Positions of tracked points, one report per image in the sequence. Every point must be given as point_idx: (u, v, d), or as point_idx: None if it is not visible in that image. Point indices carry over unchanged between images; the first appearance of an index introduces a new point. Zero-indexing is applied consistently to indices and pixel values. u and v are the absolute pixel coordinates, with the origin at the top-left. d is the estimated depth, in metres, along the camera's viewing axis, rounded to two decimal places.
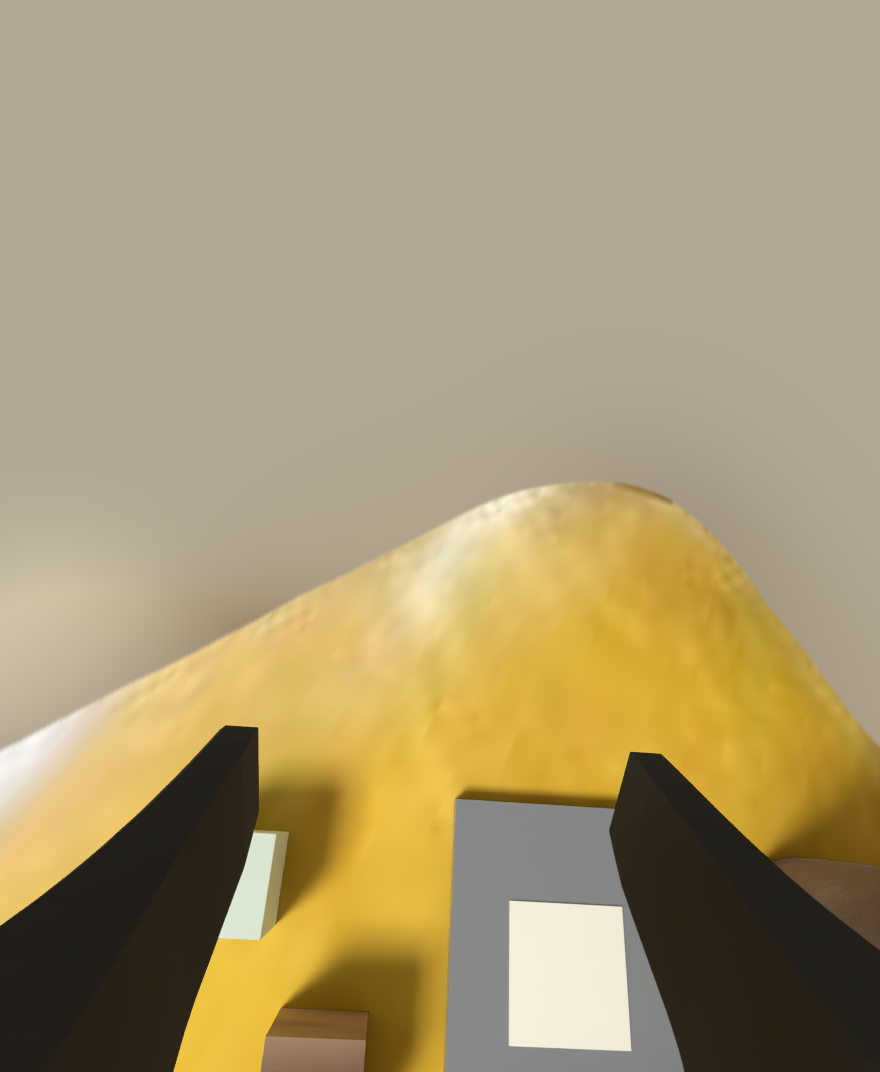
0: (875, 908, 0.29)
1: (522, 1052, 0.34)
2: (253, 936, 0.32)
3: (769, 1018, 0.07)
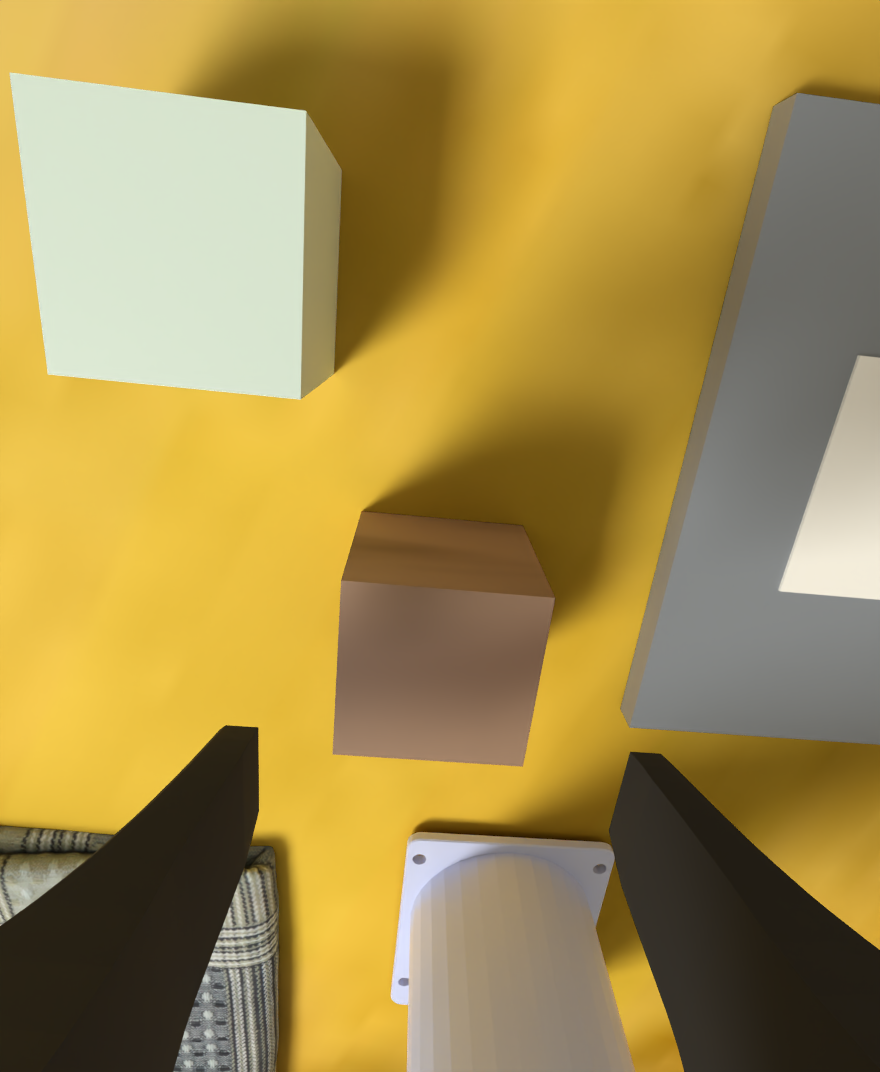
0: None
1: (798, 600, 0.19)
2: (282, 391, 0.12)
3: (769, 1018, 0.07)
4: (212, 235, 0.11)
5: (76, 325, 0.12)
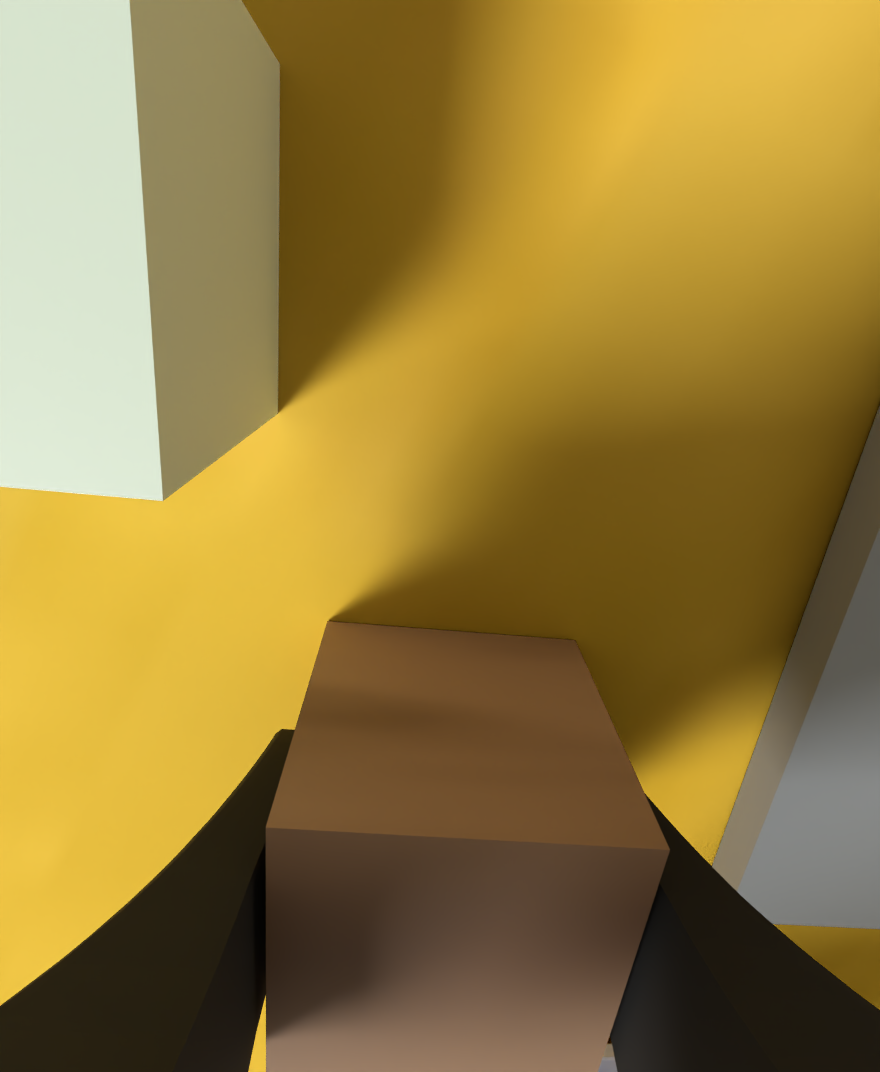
0: None
1: None
2: (123, 484, 0.06)
3: (686, 1015, 0.07)
4: None
5: None
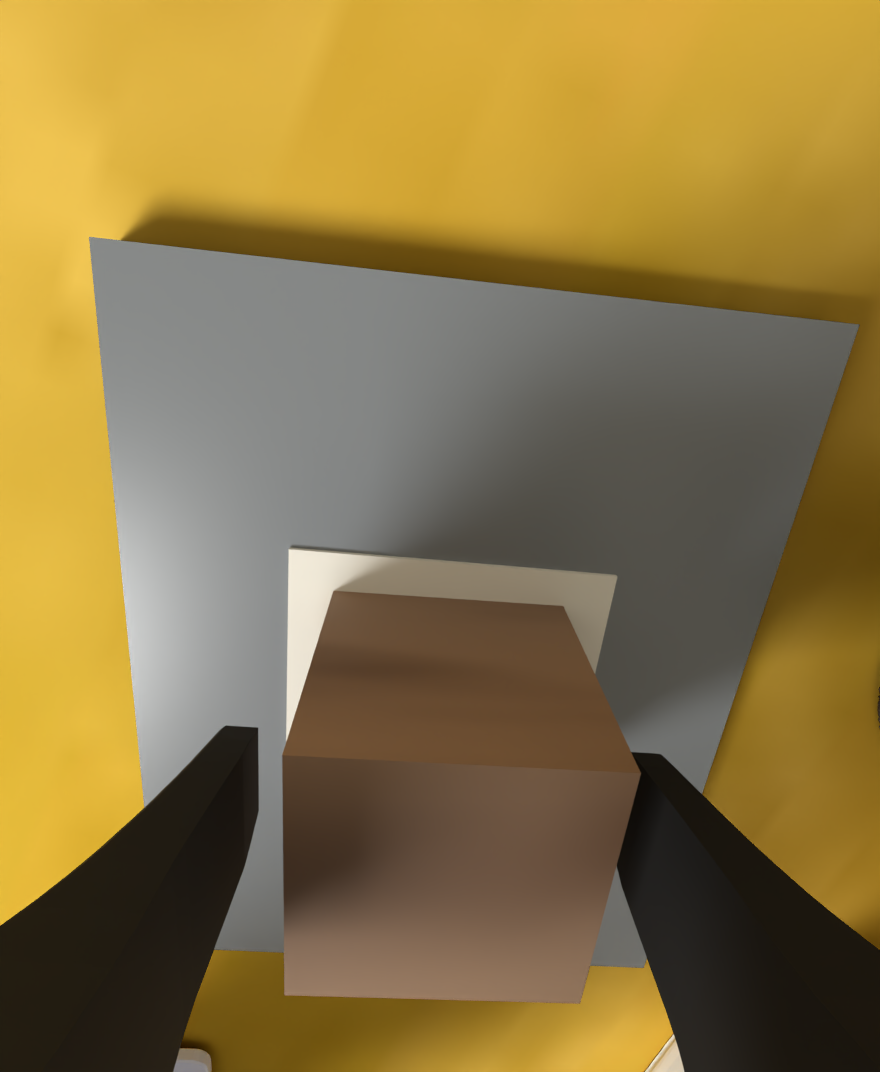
0: None
1: None
2: None
3: (769, 1018, 0.07)
4: None
5: None
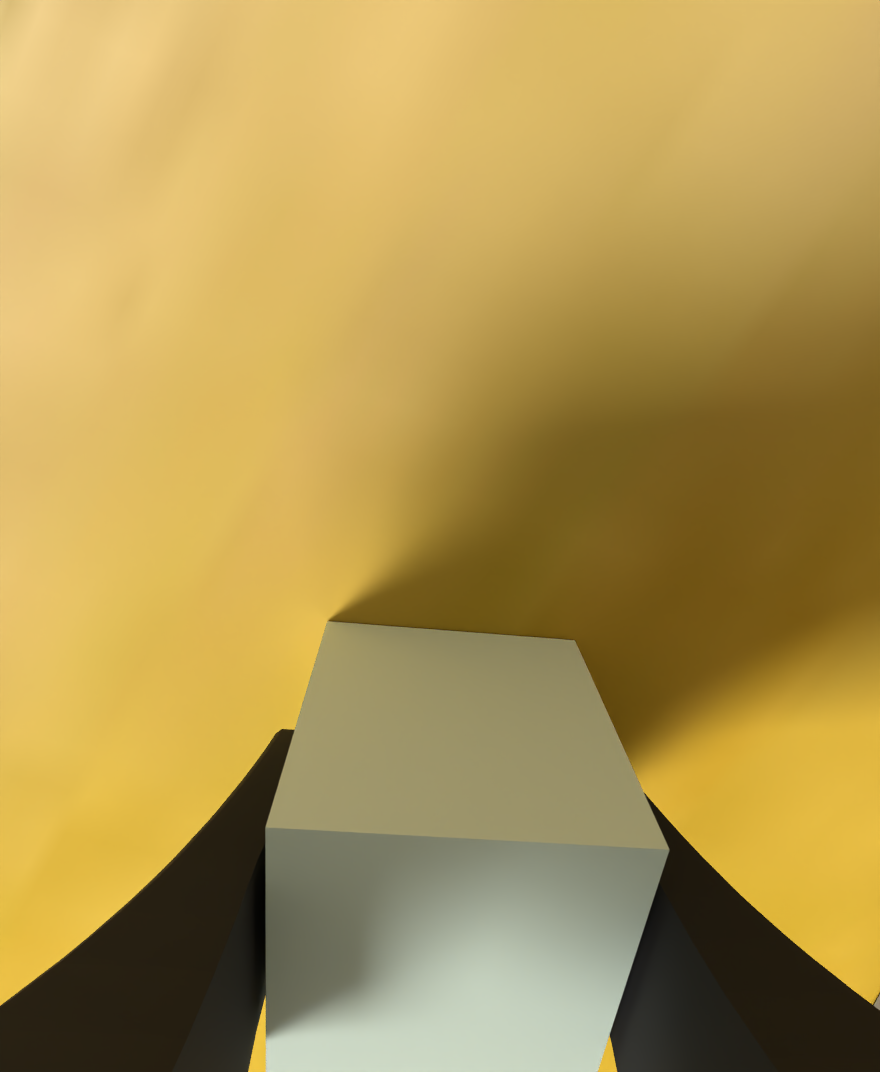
0: None
1: None
2: None
3: (686, 1015, 0.07)
4: (511, 959, 0.08)
5: (312, 1039, 0.09)
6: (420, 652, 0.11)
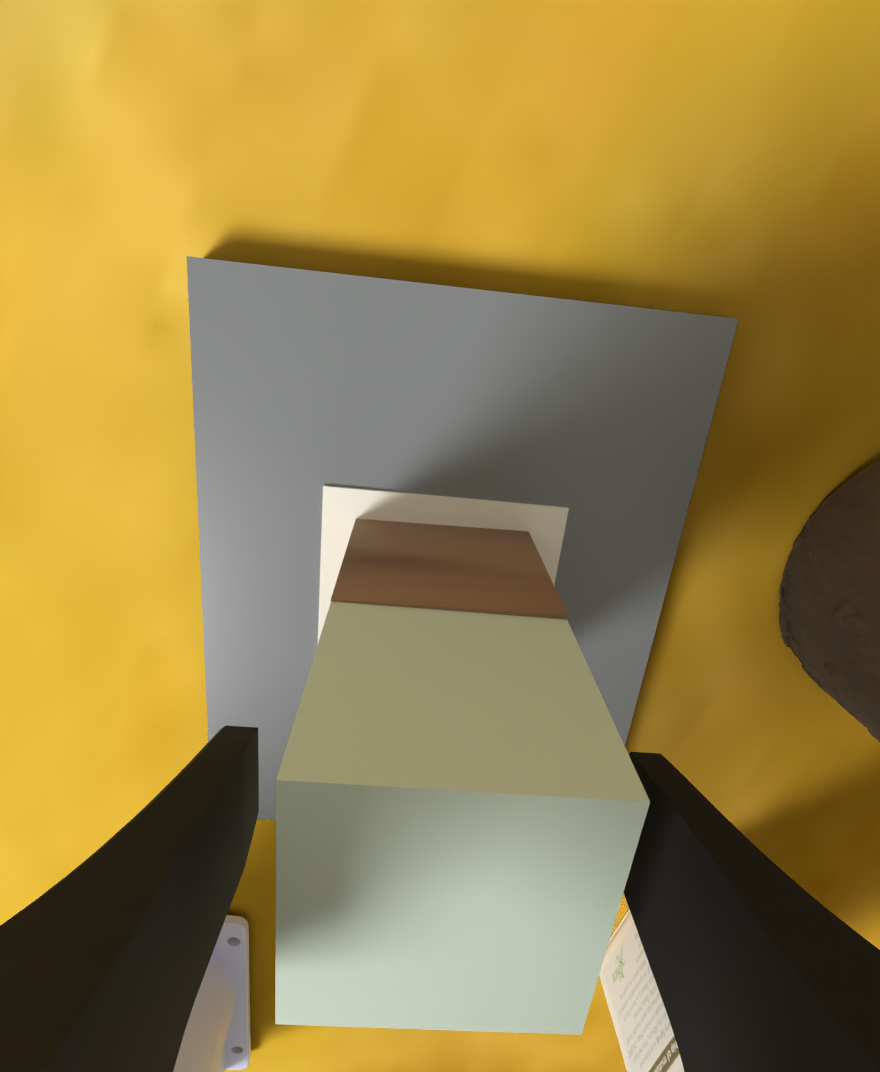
0: None
1: None
2: (560, 1028, 0.10)
3: (769, 1018, 0.07)
4: (504, 909, 0.09)
5: (318, 985, 0.09)
6: (419, 629, 0.12)
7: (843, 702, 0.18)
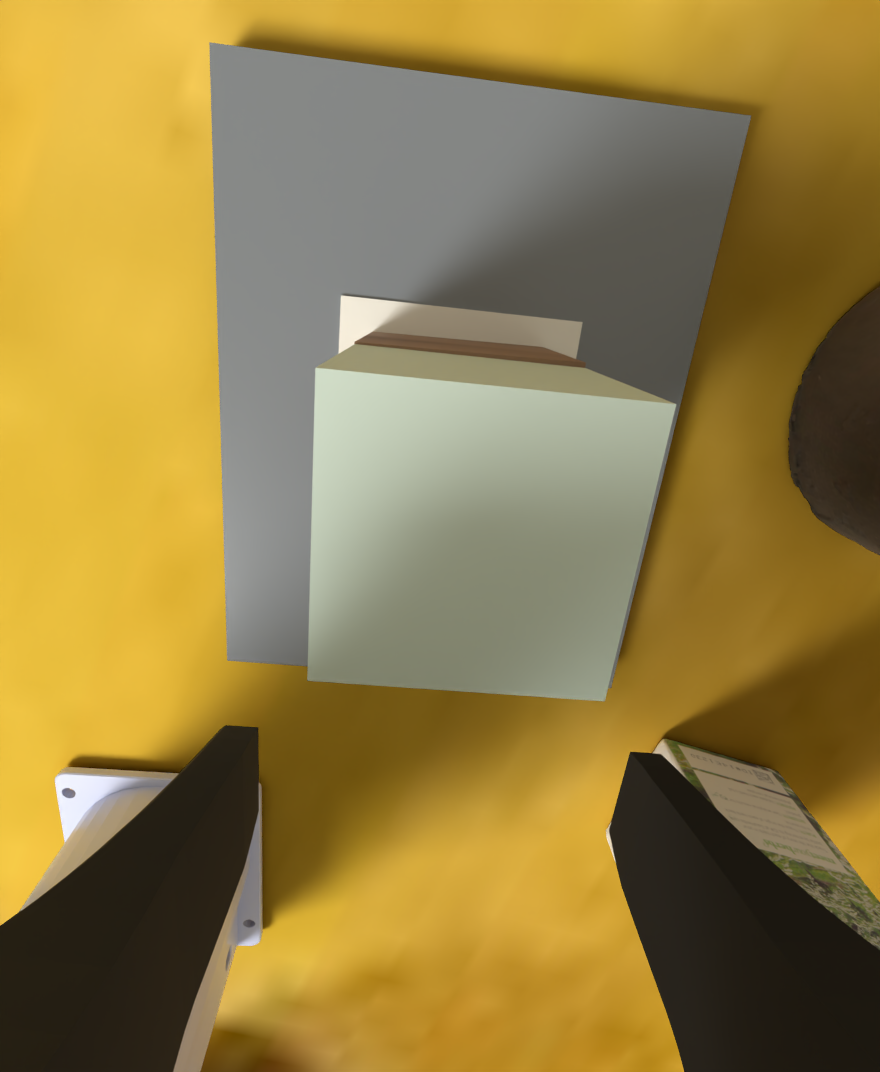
0: None
1: None
2: (585, 693, 0.10)
3: (769, 1018, 0.07)
4: (533, 537, 0.09)
5: (350, 631, 0.10)
6: (442, 356, 0.12)
7: (852, 524, 0.18)
